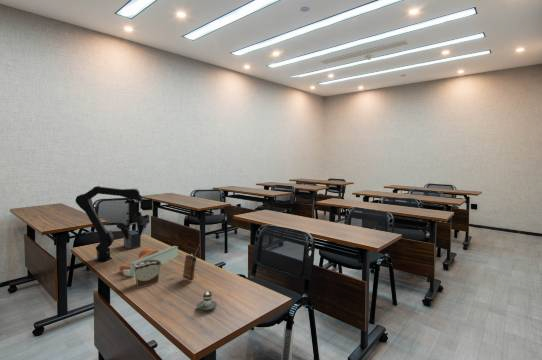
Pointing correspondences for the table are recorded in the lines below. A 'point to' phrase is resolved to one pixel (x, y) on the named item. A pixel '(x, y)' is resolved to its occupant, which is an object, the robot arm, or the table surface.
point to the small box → (132, 240)
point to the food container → (147, 272)
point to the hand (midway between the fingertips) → (133, 237)
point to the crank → (142, 254)
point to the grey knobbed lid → (207, 302)
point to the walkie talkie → (189, 267)
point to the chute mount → (155, 258)
